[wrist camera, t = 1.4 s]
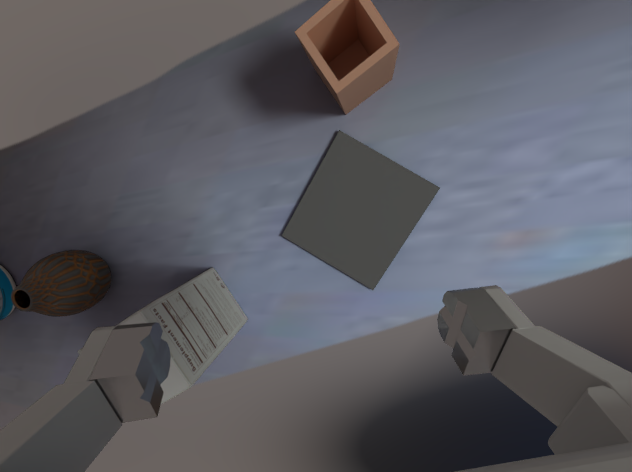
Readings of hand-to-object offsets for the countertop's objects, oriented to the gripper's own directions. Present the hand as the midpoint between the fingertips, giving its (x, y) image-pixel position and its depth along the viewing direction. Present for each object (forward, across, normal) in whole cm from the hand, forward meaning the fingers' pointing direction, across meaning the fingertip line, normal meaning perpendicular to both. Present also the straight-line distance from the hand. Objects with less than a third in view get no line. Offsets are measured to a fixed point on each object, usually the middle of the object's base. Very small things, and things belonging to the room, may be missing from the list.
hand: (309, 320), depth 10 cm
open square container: (+27, -8, -3) cm, 28 cm away
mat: (+22, -7, +9) cm, 25 cm away
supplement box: (+22, +9, +21) cm, 32 cm away
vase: (+28, +23, +18) cm, 40 cm away
